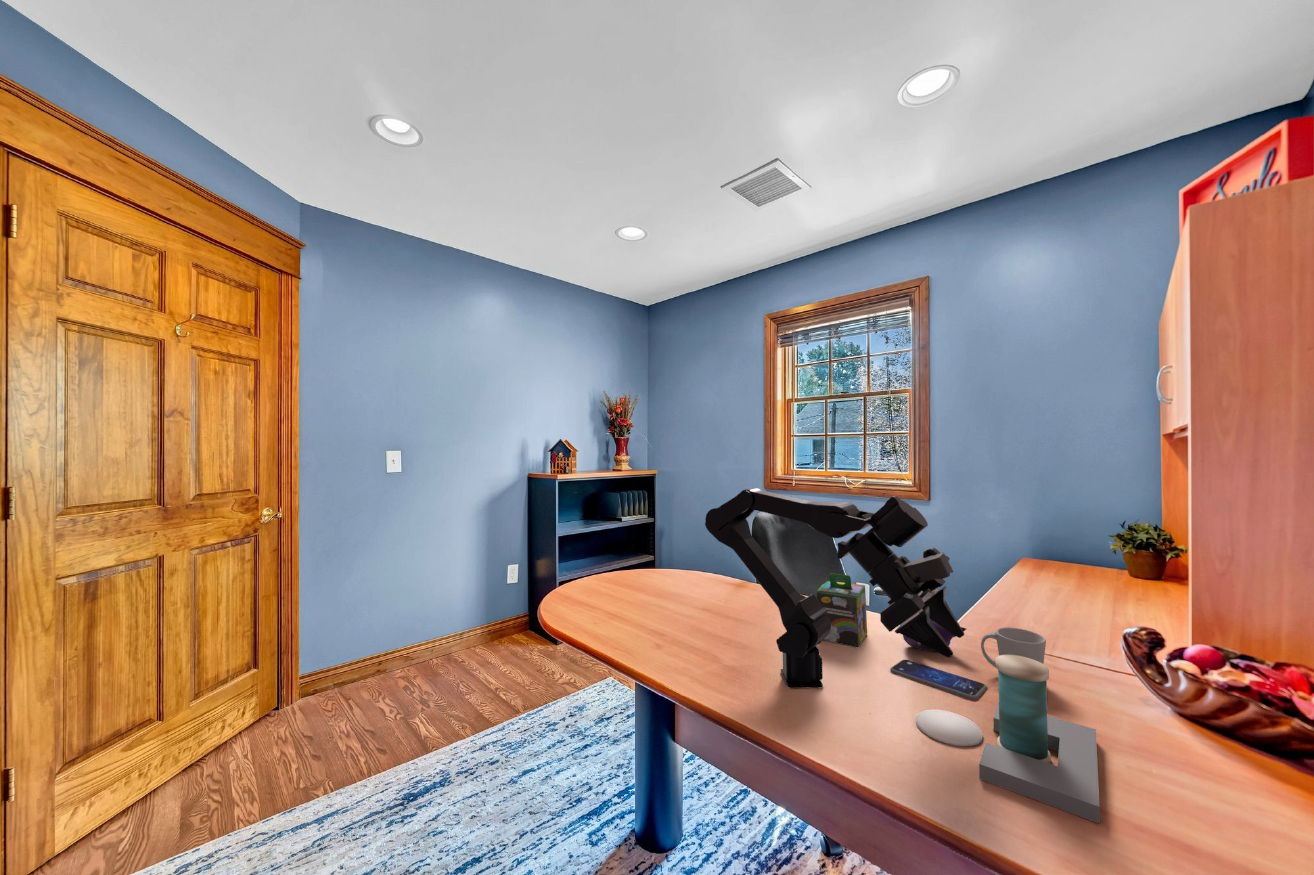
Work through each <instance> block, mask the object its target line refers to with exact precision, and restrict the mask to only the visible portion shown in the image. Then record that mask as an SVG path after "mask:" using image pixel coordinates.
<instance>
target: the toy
mask: <svg viewBox="0 0 1314 875" xmlns="http://www.w3.org/2000/svg"><path fill="white" fill-rule="evenodd" d="M930 621H931V623H932V624H933V625H934V627H935V628H936V629H937V631H938V632H939V633H940V635H941V636H942V637H943V639H944V640H945V641H946V643H947V644H948V646H949V647H950V645H951V640H952V639H953V638H955V637H956V638H957V636H955V635H953V634H952V633H950V632H949V631H947V630H946V629H944V628H943V627H941V626H940V625H938V624H937V623H935V622H934V621H932V620H931V619H930ZM960 627H961V628H962V630H963V632H964V633H965V631H966V630H967V628H966V627H962V626H960ZM902 638H903V641H904V642H905V643H906V644H907V645H908V646H910V647H912V648H915V649H916V648H917V649H919V650H931V651H933V650H932V649H930V648H928V647H926V646H924V645H922V644H921V643H919V642H917V641H915V640H912V639H910V638H908V637H906V636H904V635H902Z"/></svg>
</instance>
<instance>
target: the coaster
mask: <svg viewBox="0 0 1314 875" xmlns="http://www.w3.org/2000/svg"><path fill="white" fill-rule="evenodd" d="M915 724H916V726H917V728H918V729H919V730H921V732H923V733H924V734H925V735H926V736H928V737H930V738H931V739H933V740H936V741H938V742H941V743H944V744H947V745H951V746H956V747H973V746H977V745H979V744H980V743H981V742H982V741H983V731H982V729H981V728H980V726H979V725H978V724H976V723H975V721H973V720H970V719H969V718H967V717H965V716H963V715H960V714H958V713H955V712H952V711H948V710H944V709H943V710H942V709H933V708H932V709H925V710H922V711H919V712H918V713H917V714H916V715H915Z"/></svg>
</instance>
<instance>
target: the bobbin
mask: <svg viewBox="0 0 1314 875" xmlns="http://www.w3.org/2000/svg"><path fill="white" fill-rule="evenodd" d="M995 661H996V667H995V668H996V669H997V670H998V671H997V672H998V676H997V677H998V702H999V732H998V733H999V736H998V737H997V739H996V742H997V744H996V746H998V747H1001V748H1004V749H1007V750H1010V751H1013V752H1016V753H1019V754H1022V755H1025V756H1028V757H1031V758H1034V759H1037V760H1040V761H1043V762H1046V763H1049V764H1052V754H1051V752H1050V751H1049V748H1048V729H1047V716H1048V696H1047V695H1048V692H1047V691H1048V688H1047V686H1048V685H1047V681H1048V680H1049V679H1050V669H1049V668H1048V666H1047V665H1046V664H1045V663H1044V664H1042V663H1040V662H1038V661H1036V660H1033V659H1030V658H1026V657H1022V656H1017V655H1000V656H999V655H998V656H996V657H995Z"/></svg>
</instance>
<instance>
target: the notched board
mask: <svg viewBox="0 0 1314 875" xmlns="http://www.w3.org/2000/svg"><path fill="white" fill-rule="evenodd" d="M993 714H994V715H993V721H992V722H993V732H997V733H1000V732H999V701H998V702H997V705H996V708H995V712H994V713H993ZM1047 729H1048V749H1051V750H1054V751H1056V752H1058V758H1057V765H1056V764H1055V765H1054V764H1052V763H1051V764H1049V763H1046V762H1043V761H1040V760H1037V759H1034V758H1031V757H1028V756H1025V755H1022V754H1019V753H1016V752H1013V751H1010V750H1007V749H1004V748H1001V747H998V746H997V745H994V744H992V743H990V742H985V744H984V747H983V750H982V753H981V757H980V760H979V762H978V763H979V764H978V769H979V771H978V773H979V774H978V775H979V780H982V781H984V782H987V783H990V784H993V785H996V786H998V787H1001V788H1003V789H1007V790H1008V791H1012V792H1014V793H1016V794H1020V795H1021V796H1025V797H1028V798H1030V799H1032V800H1035V801H1038V802H1039V803H1040V802H1041V803H1043V804H1046V805H1048V806H1052V807H1055V808H1056V809H1059V810H1062V811H1065V812H1067V813H1070V814H1073V815H1076V816H1077V817H1081V818H1083V819H1086V820H1089V821H1090V822H1091V821H1092V822H1093V823H1097V824H1101V823H1100V822H1101V821H1100V820H1101V819H1100V818H1101V817H1100V790H1099V772H1098V771H1099V770H1098V769H1099V768H1098V766H1099V765H1098V753H1097V752H1098V749H1097V745H1098V744H1097V730H1096V729H1097V728H1093V727H1089V726H1085V725H1082V724H1079V723H1074V722H1072V721H1069V720H1066V719H1065V720H1064V719H1062V718H1061V719H1060V718H1057V717H1055V716H1051V715H1047Z"/></svg>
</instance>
